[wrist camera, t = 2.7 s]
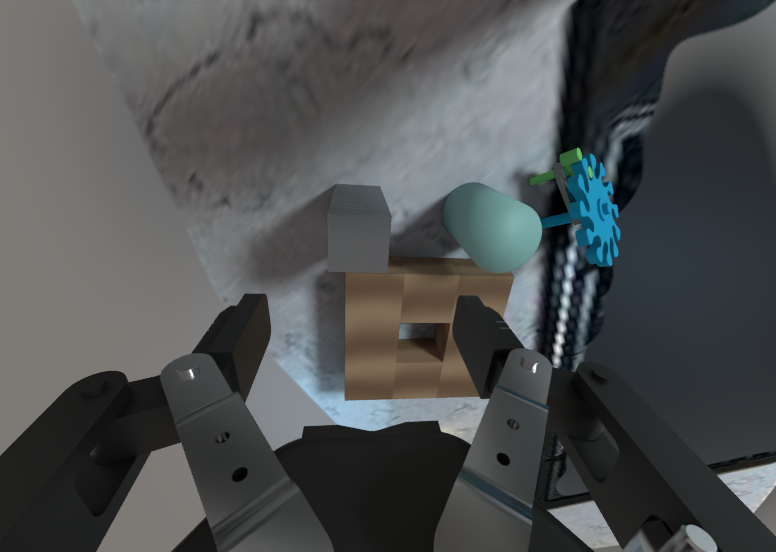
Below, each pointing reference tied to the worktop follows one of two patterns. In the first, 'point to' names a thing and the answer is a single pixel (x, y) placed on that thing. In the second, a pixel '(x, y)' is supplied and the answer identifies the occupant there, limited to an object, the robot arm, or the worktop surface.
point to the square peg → (358, 230)
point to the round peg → (492, 227)
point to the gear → (585, 204)
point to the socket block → (412, 305)
